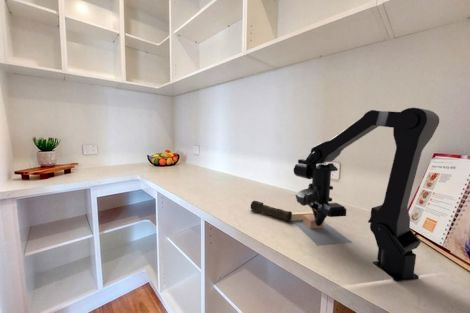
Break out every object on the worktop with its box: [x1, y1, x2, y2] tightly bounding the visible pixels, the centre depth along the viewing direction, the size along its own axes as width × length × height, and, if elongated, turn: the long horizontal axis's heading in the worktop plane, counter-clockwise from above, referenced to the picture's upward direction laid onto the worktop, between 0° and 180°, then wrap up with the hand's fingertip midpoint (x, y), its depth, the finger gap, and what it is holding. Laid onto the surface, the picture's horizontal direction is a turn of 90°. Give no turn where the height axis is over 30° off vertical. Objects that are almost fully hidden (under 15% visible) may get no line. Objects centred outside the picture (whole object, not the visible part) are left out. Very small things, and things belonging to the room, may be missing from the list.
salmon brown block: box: [303, 214, 323, 229], centre depth 71 cm, size 5×5×3 cm
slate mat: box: [290, 211, 353, 247], centre depth 68 cm, size 18×12×3 cm, turn 10°
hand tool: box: [250, 200, 293, 223], centre depth 80 cm, size 19×4×5 cm, turn 47°
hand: (318, 225), depth 67 cm, fingers closed
